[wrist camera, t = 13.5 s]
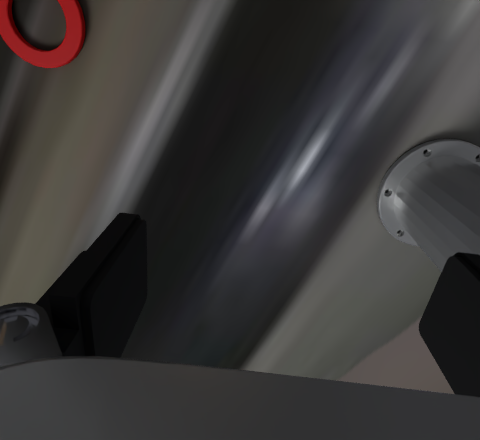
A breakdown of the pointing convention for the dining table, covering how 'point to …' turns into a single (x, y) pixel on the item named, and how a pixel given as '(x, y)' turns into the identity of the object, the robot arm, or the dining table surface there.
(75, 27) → the tow hook
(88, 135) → the dining table surface
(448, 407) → the robot arm
